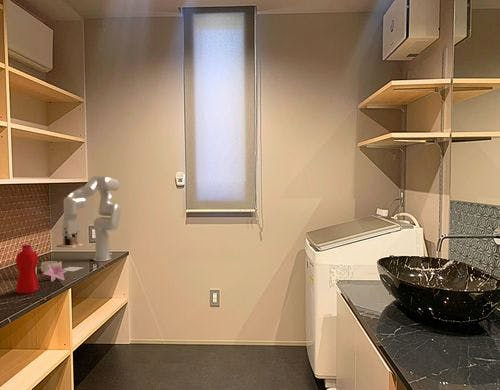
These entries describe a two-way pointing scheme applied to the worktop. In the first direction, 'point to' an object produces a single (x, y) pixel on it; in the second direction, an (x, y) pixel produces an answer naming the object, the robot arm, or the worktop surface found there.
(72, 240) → the lid
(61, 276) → the lily
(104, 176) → the robot arm
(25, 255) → the water bottle
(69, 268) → the mat
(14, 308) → the worktop surface
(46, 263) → the bowl
